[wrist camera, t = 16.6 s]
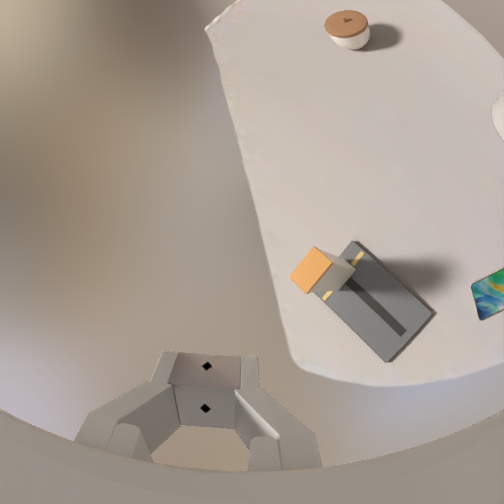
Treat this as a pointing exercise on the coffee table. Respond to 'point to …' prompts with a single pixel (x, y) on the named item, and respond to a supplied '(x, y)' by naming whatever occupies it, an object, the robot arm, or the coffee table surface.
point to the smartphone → (488, 294)
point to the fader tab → (321, 272)
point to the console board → (376, 305)
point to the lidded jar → (348, 29)
